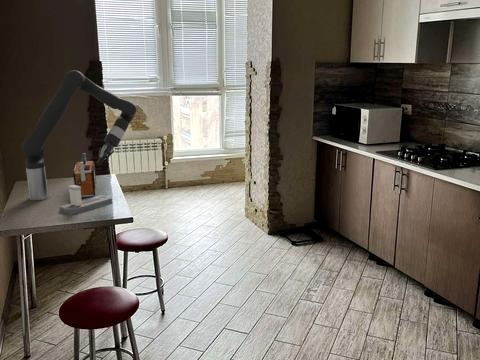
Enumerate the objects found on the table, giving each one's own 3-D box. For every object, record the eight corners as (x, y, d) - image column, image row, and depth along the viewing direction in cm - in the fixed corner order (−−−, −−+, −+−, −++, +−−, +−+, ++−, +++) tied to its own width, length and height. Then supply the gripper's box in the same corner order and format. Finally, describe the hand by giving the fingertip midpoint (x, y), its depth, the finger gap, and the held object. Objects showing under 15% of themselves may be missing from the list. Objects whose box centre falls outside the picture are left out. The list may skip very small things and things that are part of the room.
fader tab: (77, 206, 223) (75, 187, 221) (70, 204, 227) (68, 186, 225) (82, 204, 226) (80, 186, 223) (75, 202, 229) (73, 184, 227)
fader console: (71, 215, 219) (70, 209, 218) (59, 211, 225) (59, 206, 224) (112, 202, 237) (111, 198, 237) (100, 199, 243) (100, 195, 243)
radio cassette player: (95, 198, 247) (91, 162, 242) (75, 199, 244) (71, 163, 239) (96, 184, 274) (93, 152, 269) (78, 186, 272) (74, 153, 267)
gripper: (103, 132, 243) (87, 160, 238) (114, 132, 233) (98, 161, 228) (114, 140, 247) (98, 167, 242) (126, 140, 238) (110, 168, 233)
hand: (98, 164), depth 235 cm, fingers closed
